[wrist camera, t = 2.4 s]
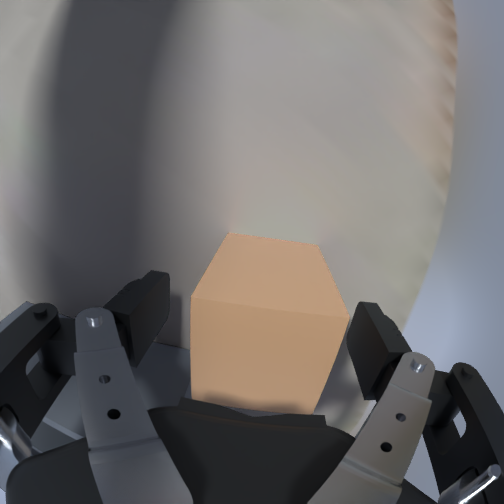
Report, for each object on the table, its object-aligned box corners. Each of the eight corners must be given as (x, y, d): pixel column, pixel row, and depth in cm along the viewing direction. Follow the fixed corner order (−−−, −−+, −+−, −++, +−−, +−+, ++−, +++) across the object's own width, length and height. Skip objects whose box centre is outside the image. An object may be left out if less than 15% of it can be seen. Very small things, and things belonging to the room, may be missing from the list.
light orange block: (228, 232, 12) (190, 296, 7) (317, 245, 12) (350, 317, 7) (221, 309, 14) (191, 399, 8) (300, 320, 14) (311, 414, 8)
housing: (26, 301, 15) (-38, 354, 8) (200, 351, 15) (160, 465, 8) (77, 426, 20) (49, 474, 13) (201, 467, 20) (187, 530, 13)
